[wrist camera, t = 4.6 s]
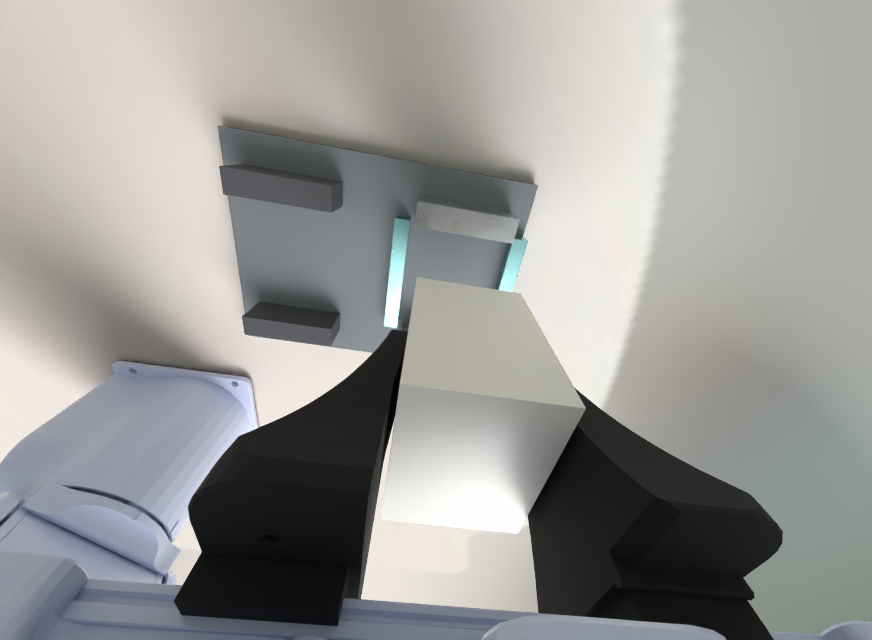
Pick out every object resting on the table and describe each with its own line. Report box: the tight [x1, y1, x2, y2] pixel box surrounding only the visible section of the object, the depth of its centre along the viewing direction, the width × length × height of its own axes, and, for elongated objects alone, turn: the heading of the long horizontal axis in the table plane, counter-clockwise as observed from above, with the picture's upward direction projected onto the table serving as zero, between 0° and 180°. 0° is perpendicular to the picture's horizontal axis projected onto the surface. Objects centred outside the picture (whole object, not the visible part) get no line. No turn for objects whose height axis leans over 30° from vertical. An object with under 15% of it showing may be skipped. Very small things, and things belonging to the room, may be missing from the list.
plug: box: [380, 277, 586, 533], centre depth 10 cm, size 4×5×6 cm
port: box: [384, 196, 528, 332], centre depth 18 cm, size 7×9×2 cm
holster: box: [219, 164, 343, 346], centre depth 17 cm, size 5×9×2 cm, turn 170°
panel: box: [218, 126, 538, 353], centre depth 19 cm, size 16×12×1 cm
